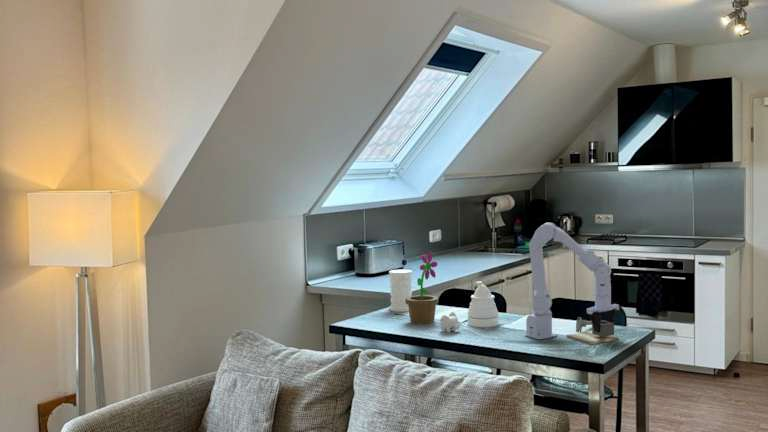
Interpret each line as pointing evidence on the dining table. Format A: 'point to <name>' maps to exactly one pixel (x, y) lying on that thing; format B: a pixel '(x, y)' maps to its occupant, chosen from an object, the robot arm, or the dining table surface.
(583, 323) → the caliper
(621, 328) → the dining table surface
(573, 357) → the dining table surface
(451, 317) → the elephant figurine
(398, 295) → the decorative container
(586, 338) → the post board
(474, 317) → the honey pot
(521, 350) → the dining table surface
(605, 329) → the collar
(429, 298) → the flowerpot
